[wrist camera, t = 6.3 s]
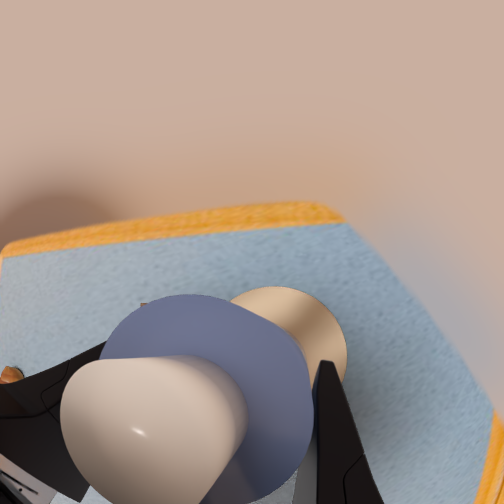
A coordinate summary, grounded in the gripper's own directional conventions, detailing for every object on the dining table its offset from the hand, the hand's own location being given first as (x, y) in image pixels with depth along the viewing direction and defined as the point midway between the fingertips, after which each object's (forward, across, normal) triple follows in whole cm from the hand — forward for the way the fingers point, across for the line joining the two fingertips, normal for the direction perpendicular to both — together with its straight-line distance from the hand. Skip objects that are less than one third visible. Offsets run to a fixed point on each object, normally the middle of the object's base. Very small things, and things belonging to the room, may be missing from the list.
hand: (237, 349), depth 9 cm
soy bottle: (+4, 0, +6) cm, 7 cm away
